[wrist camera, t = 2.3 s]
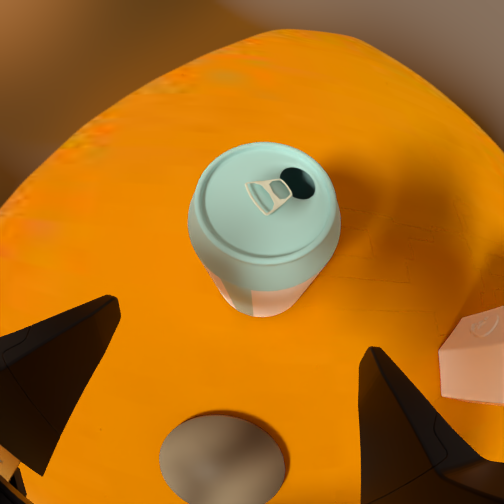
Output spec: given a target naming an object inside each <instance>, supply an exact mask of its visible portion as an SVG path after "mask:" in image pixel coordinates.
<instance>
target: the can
mask: <svg viewBox="0 0 504 504" xmlns="http://www.w3.org/2000/svg"><path fill="white" fill-rule="evenodd" d="M340 230H341V217H340V210H339V206H338V203H337V200H336V194H335V189H334V187H333V184H332V182H331V180H330V178H329V176H328V174H327V173H326V172H325V170H324V169H323V168H322V167H321V166H320V164H319V163H317V162H316V161H315V160H314V159H313V158H312V157H310V156H309V155H307V154H306V153H304V152H302V151H300V150H298V149H296V148H294V147H291V146H288V145H284V144H279V143H272V142H256V143H249V144H244V145H241V146H238V147H235V148H232V149H230V150H228V151H226V152H225V153H223V154H221V155H220V156H219V157H217V158H216V159H215V160H214V161H212V163H211V164H210V165H209V166H208V167H207V168H206V169H205V171H204V172H203V174H202V175H201V177H200V179H199V181H198V184H197V187H196V190H195V193H194V195H193V198H192V200H191V203H190V207H189V213H188V231H189V236H190V240H191V243H192V245H193V248H194V250H195V252H196V254H197V255H198V257H199V259H200V260H201V262H202V264H203V265H204V267H205V268H206V270H207V272H208V273H209V275H210V276H211V278H212V280H213V281H214V283H215V284H216V286H217V287H218V289H219V291H220V292H221V294H222V295H223V297H224V298H225V300H226V301H227V302H228V303H229V304H230V305H231V306H232V307H234V308H235V309H236V310H238V311H240V312H242V313H244V314H247V315H250V316H255V317H268V316H273V315H277V314H279V313H281V312H283V311H285V310H287V309H288V308H290V307H291V306H292V305H293V304H294V303H295V302H296V301H297V300H298V299H299V297H300V296H301V295H302V294H303V292H304V291H305V290H306V289H307V288H308V286H309V285H310V284H311V283H312V281H313V280H314V279H315V278H316V276H317V275H318V274H319V273H320V271H321V270H322V269H323V268H324V266H325V265H326V264H327V262H328V261H329V260H330V258H331V257H332V255H333V253H334V251H335V249H336V247H337V244H338V241H339V237H340Z"/></svg>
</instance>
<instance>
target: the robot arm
mask: <svg viewBox="0 0 504 504" xmlns="http://www.w3.org/2000/svg"><path fill="white" fill-rule="evenodd" d="M120 318H121V313H120V308H119V302H118V299H117V297H115V296H111V295H105V296H102V297H100V298H97V299H95V300H92V301H90V302H87V303H85V304H82V305H80V306H77V307H75V308H72V309H70V310H67V311H65V312H62V313H60V314H58V315H55V316H53V317H50V318H48V319H45V320H43V321H40V322H38V323H36V324H33V325H32V326H28V327H26V328H24V329H21V330H19V331H16V332H13V333H11V334H8V335H5V336H2V337H0V504H33V503H32V502H31V501H30V500H28V499H27V498H26V495H27V493H26V490H25V487H24V483H23V480H22V476H21V472H20V469H19V468H18V466H19V464H20V462H22V463H24V464H25V465H26V466H28V467H29V468H30V469H32V470H33V471H35V472H36V473H38V474H39V475H40V476H43V475H44V473H45V470H46V468H47V466H48V463H49V461H50V459H51V456H52V454H53V452H54V450H55V447H56V445H57V443H58V441H59V439H60V436H61V434H62V432H63V430H64V428H65V426H66V424H67V422H68V420H69V418H70V416H71V414H72V412H73V410H74V408H75V406H76V404H77V402H78V400H79V398H80V396H81V395H82V393H83V391H84V389H85V387H86V385H87V384H88V382H89V380H90V378H91V376H92V374H93V373H94V371H95V369H96V367H97V366H98V364H99V362H100V360H101V359H102V357H103V355H104V353H105V352H106V349H107V347H108V345H109V343H110V341H111V339H112V336H113V334H114V332H115V330H116V328H117V326H118V324H119V321H120ZM358 411H359V426H360V447H361V504H504V463H501V462H494V461H489V460H486V459H484V458H483V457H481V456H480V455H479V454H478V453H477V452H476V451H475V450H474V449H472V448H471V447H470V446H469V445H468V444H467V443H466V442H465V441H464V440H463V439H462V438H461V437H460V436H459V435H458V434H457V433H456V432H455V431H454V430H453V429H452V428H451V426H450V425H449V424H448V423H447V422H446V421H445V420H444V419H443V417H442V416H441V415H440V414H439V413H438V412H437V411H436V409H435V408H434V407H433V406H432V405H431V404H430V402H429V401H428V400H427V399H426V398H425V397H424V396H423V394H422V393H421V392H420V391H419V390H418V389H417V388H416V386H415V385H414V384H413V383H412V382H411V381H410V380H409V379H408V377H407V376H406V375H405V374H404V373H403V372H402V371H401V370H400V368H399V367H398V366H397V365H396V364H395V363H394V362H393V361H392V360H391V358H390V357H389V356H388V355H387V354H386V353H385V352H384V351H383V350H382V349H381V348H380V347H373V346H371V347H369V348H368V349H367V351H366V352H365V354H364V356H363V358H362V360H361V362H360V365H359V392H358Z"/></svg>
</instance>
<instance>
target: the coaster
mask: <svg viewBox="0 0 504 504" xmlns="http://www.w3.org/2000/svg"><path fill="white" fill-rule="evenodd" d="M159 463H160V469H161V472H162V475H163V477H164V479H165V481H166V482H167V484H168V485H169V487H170V488H171V489H172V490H173V491H174V492H175V493H176V494H177V495H178V496H179V497H180V498H182V499H183V500H184V501H186V502H188V503H189V504H265V503H266V502H268V501H269V500H270V499H271V498H272V497H274V496H275V494H276V493H277V492H278V490H279V489H280V487H281V485H282V483H283V480H284V475H285V464H284V459H283V455H282V453H281V450H280V448H279V446H278V445H277V443H276V442H275V441H274V439H273V438H272V437H271V436H270V435H269V434H268V433H267V432H265V431H264V430H263V429H262V428H260V427H258V426H257V425H255V424H253V423H251V422H249V421H247V420H244V419H241V418H237V417H233V416H227V415H204V416H199V417H195V418H192V419H189V420H187V421H185V422H183V423H182V424H180V425H179V426H177V427H176V428H175V429H174V430H173V431H172V432H170V434H169V435H168V436H167V437H166V439H165V440H164V442H163V444H162V447H161V450H160V455H159Z"/></svg>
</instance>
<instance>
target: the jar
mask: <svg viewBox="0 0 504 504" xmlns="http://www.w3.org/2000/svg"><path fill="white" fill-rule="evenodd" d="M438 354H439V364H440V377H441V395H442V396H443V397H447V398H451V399H456V400H460V401H465V402H470V403H479V404H488V405H498V406H504V306H501V307H497V308H494V309H491V310H488V311H484V312H481V313H477V314H474V315H470V316H466V317H463V318H462V319H461V320H460V322H459V323H458V325H457V326H456V327H455V329H454V330H453V332H452V333H451V334H450V336H449V337H448V339H447V340H446V341H445V343H444V344H443V345H442V346H441V348H440V349H439V351H438Z"/></svg>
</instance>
